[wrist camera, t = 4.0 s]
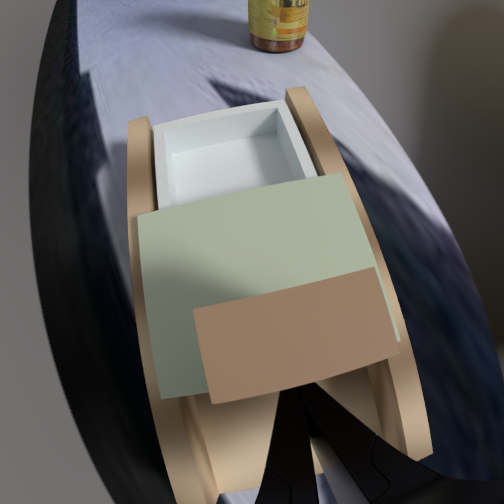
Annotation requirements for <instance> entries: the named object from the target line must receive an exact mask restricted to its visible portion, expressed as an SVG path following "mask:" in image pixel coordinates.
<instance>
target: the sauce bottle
mask: <svg viewBox="0 0 504 504" xmlns="http://www.w3.org/2000/svg"><path fill="white" fill-rule="evenodd" d="M309 2H310V0H248V18H249V31H250V40H251V42H252V44H253V45H254V46H255V47H257V48H259V49H263V50H266V51H269V52H287V51H292V50H296V49H298V48H300V47H301V45H302V43H303V41H304V36H305V35H306V32H307V22H308V12H309Z"/></svg>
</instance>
